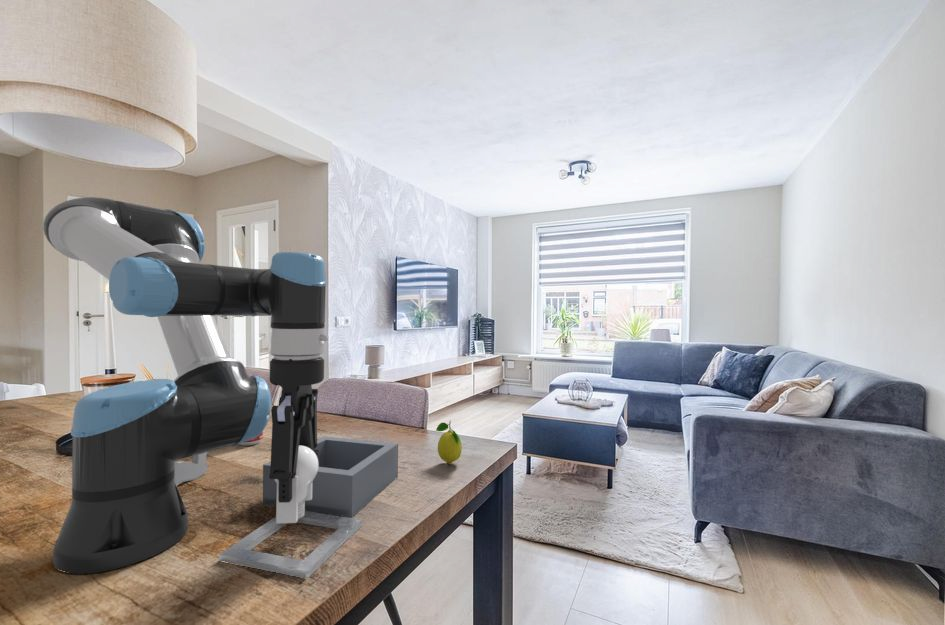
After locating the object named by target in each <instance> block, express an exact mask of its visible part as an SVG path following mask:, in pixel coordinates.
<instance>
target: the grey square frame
mask: <svg viewBox="0 0 945 625" xmlns="http://www.w3.org/2000/svg"><path fill="white" fill-rule="evenodd" d="M297 523H298V524H304V525H309V526H317V527H323V528H329V529H333V530H334V529H335V531H334V532H333V533H332V534H331V535H329V537H327V539H326V540H324V541H323V542H322V543H321V544H320V545H318V546H317V547H316V548H315V549H314V550H313V551H312V552H310V554H308V555H307V556H306V557H305V558H303V559H298V558H293V557H290V556H282V555H278V554H277V555H276V554H271V553H267V552H263V551H256V550H252V549H254V548H255V547H256V546H258V545H259V544H261V543H262V542H264V541H265V540H266V539H268V538H269V537H270V536H272V535H274V534H275V533H277V531H280V530H281V529H282V528H283V527H285V526H286V525H287V524H288V523H277V524H276V516H274V517H273V518H272V519H270V520H269V521H267V522H266V523H264V524H263V525H261V526H260V527H258V528H257V529H255V530H253V531H252V532H250V533H249V534H247V535H246V536H245V537H243V538H241V539H240V540H237V542H235V543H234V544H232V545H231V546H229V547H228V548H226V549H225V550H223V551H222V552H220V553H219V554H218V562H219V561H225V562H228V563H233V564H238V565H242V566H247V567H253V568H257V569H262V570H267V571H271V572H270V573H272V572H276V573H275V574H277V573H282V574H287V575H290V576H289V577H292V576H291V575H293V576H296V577H295V578H297V576H298V577H300V578H299V579H302V578H307V577H308V578H309V577H311V575H313V573H315V571H317V569H319V568H320V567H321V566H322V565H323V564H324V563H325V562H326V561H327V560H328V559H329V558H330V557H331V556H333V554H334V553H336V551H337V550H338V549H339V548H340V547H342V546H343V544H345V543H346V542H347V541H348V540H349V539H350V538H351V537H352V536H353V535H354V534H355V533H356V532H357V531H358V530H359V529H360V528H361V527H362V526H363V519H362V518H354V517H346V516H340V515H333V514H327V513H320V512H313V511H307V510H305V515H304V516H303V517H301V518H300V519H298V521H297V522H296V523H295V524H297ZM242 566H241V567H242ZM247 567H246V568H247ZM257 569H256V570H257ZM262 570H261V571H262ZM267 571H266V572H267ZM282 574H281V575H282ZM287 575H286V576H287ZM301 577H302V578H301ZM308 578H307V579H308Z"/></svg>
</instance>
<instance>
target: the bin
mask: <svg viewBox="0 0 945 625" xmlns="http://www.w3.org/2000/svg"><path fill="white" fill-rule="evenodd" d="M314 450H319V453H318V456H317V458H318V462H319V467H318V472H317V474H316V477H315V478H314V480H313V481H312V499H311V500H305V511H309V512H316V513H322V514H329V515H335V516H342V517H349V518H354V516H355V515H357V514H358V513H359V512H360V511H362V509H363V508H364V507H366V506H367V505H368V504H369V503H370V502H371V501H372V500H373V499H374V498H376V497H377V496H378V495H379V494H380V493H381V492H383V491H384V490H385V489H386V488H387V487H388V486H389V485H390V484H391V483H393V482H394V481H395V480H397V478H398V477H399V443H397V442H386V441H375V440H365V439H356V438H355V439H354V438H345V437H335V436H325V435H323V436H321V437H318V438H317V447H316V448H314ZM270 465H271V460H270V461H268V462H266V463H264V464H262V504H263V505H268V506H269V505H270V506H276V503H277V483H276V481H275V480H274V479H270V478H269V474H270Z"/></svg>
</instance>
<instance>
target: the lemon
mask: <svg viewBox="0 0 945 625" xmlns="http://www.w3.org/2000/svg"><path fill="white" fill-rule="evenodd" d="M448 429H449V430H448ZM447 430H448V431H447ZM435 431H437V432H443V434H442V435H441V436H440V437H439V439H438V444H437V453H438V456H439V457H440V459H441V460H442V461H443V462H446V464H448V465H452V463H454V462H456V461H458V460H459V458H461V455H462V450H463V449H462V447H463V446H462V441H461V439H460V436H459V434H458V433H457V432H456V431H454V430H453V429H452V428H451V420H449V422H448V423H446V422H440V423H439V424H438V425H437V427H436V429H435ZM444 431H446V432H444Z"/></svg>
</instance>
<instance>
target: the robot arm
mask: <svg viewBox="0 0 945 625" xmlns="http://www.w3.org/2000/svg"><path fill="white" fill-rule="evenodd" d="M42 227H43V228H42V230H43V232H44V233H43V234H44V235H45V238H46V240H47V242H49V244H50V245H51V246H52V247H53V248H54V250H56V251H57V252H59V253H60V254H62V256H65V257H66V258H69V259H72V260H75V261H80V262H84V263H85V264H86V265H88V266H90V268H92V269H94V271H96V272H97V273H99V274H100V275H101V276H103V277H104V278H105V279H107V280H108V290H109V297H110V299H111V301H112V306H113V307H114V308H115V310H116V311H118V312H119V313H121V314H123V315H129V316H145V317H148V318H157V319H158V322H159V325H160V327H161V328H160V329H161V330H162V334H163V336H164V339H165V343H166V345H167V348H168V350H169V354H170V357H171V359H172V362H173V365H174V368H175V371H176V374H177V377H176V378H175V379H174V380H173V379H168V378H153V379H146V380H137V381H131V382H126V383H121V384H115V385H113V386H112V385H111V386H108V387H103V388H101V389H98V390H95V391H92V392H91V393H88V394H86V395H85V396H83V397H81V398H80V399H79V400H78V401H77V403H76V404H75V406H74V408H73V409H74V411H73V418H72V426H71V430H70V435H71V437H72V449H71V450H72V452H71V453H72V456H71V457H72V458H71V460H72V462H71V464H72V467H71V468H72V471H71V472H72V473H71V479H72V480H71V482H72V483H71V490H72V491H71V504H70V507H69V509H68V511H67V514H66V516H65V518H64V521H63V524H62V527H61V529H60V531H59V533H58V537H57V539H56V541H55V543H54V545H53V554H52V555H53V558H52V559H53V560H52V561H53V562H52V563H53V564H54V565H53V567H54V566H55V567H56V568H57V569H59V570H62V571H65V572H69V573H68V574H70V573H77V574H76V575H83V574H84V575H85V573H87V574H96V573H101V572H107V571H111V570H116V569H120V568H122V567H124V568H125V567H126V566H129V565H133V564H137V563H139V562H142V561H144V560H147V559H149V558H151V557H153V556H157V554H160V553H162V552H164V551H165V550H167V549H169V548H170V547H172V546H174V545H175V544H177V543H178V542H179V541H180V540H181V539H182V538H183V537H184V536H185V534H186V533H187V532H188V526H189V525H188V524H189V522H188V519H189V518H188V511H187V509H186V506H185V504H184V501H183V499H182V496H181V494H180V491H179V489H178V486H176V484H175V462H177V461H180V460H182V459H186V458H191V457H193V456H195V455H198V454H202V453H206V452H207V453H209V452H214V451H217V450H221V449H224V448H225V449H226V448H228V447H236V446H239V445H240V443H242V442H245V441H249V440H252V439H254V438H256V437H257V436H259V435H260V434H261V433H262V432H263V433H264V430H265V429H266V427H267V425H268V423H269V421H270V415H271V420H272V421H271V423H272V427H271V428H272V429H271V444H270V449H271V450H270V461H271V465H270V474H269V478H270V479H277V503H276V509H275V511H276V513H275V514H276V515H275V517H276V524H277V523H287V524H297V523H296V522H297V521H298V475H296V467H297V458H298V449H299V445H302V446H306V447H308V448H310V449H312V450H313V451H314V452H315V454H316V456H318V453H319V450H314V448H316V447H317V439H318V394H319V390H318V388H313V387H312V386H313V385H317V384H320V383H322V382H323V381H324V380H325V359H324V358H323V357H322V356H320V355H323V353H325V342H326V341H328V339H329V336H328V334H325V327H326V326H325V321H326V320H325V319H326V314H325V313H326V290H327V289H326V288H327V284H328V283H327V278H326V265H325V264H326V263H325V259H324V258H322V256H320V255H318V254H314V253H307V252H299V251H298V252H297V251H296V252H295V251H280V252H276V253H274V255H273V256H272V258H271V264H270V266H269V268H262V269H261V268H250V267H249V268H246V267H237V266H228V265H218V264H217V265H216V264H208V263H207V264H206V263H201V261H202V259H203V258H204V254H205V250H206V245H205V244H204V241H205V234H204V233H203V230H202V228H201V226H200V224H199V223H198V222H197V221H196V220H195V218H193V217H192V216H190V215H188V214H185V213H181V212H177V211H175V210H172V209H166V208H165V209H160V208H156V207H151V206H147V205H141V204H135V203H131V202H126V201H121V200H114V199H111V198H106V197H105V198H104V197H93V196H91V197H89V196H87V197H86V196H85V197H79V198H77V197H76V198H73V199H69V200H65V201H63V202H59V203H58V204H57V205H55V206H54V207H53V208H51V209H50V210H49V211H48V213H46V215H45V217H44V220H43V226H42ZM216 316H219V317H221V316H223V317H224V316H225V317H228V316H229V317H230V316H231V317H242V316H243V317H266V316H267V317H270V332H269V354H270V356H273V358H271V360H270V361H269V382H270V384H271V385H274V386H279V387H281V394H280V397H279V398H278V399H279V400H278V405H272V395H271V390H270V388H269V387H270V386H268V383H267V382H266V380H265V379H264V378H262V377H261V376H257V375H250V376H248V373H247V370H246V368H245V366H244V363H243V362H242V361H239V360H238V359H233V358H231V356H230V353H229V351H228V349H227V346H226V343H225V341H224V338H223V335H222V333H221V331H220V327H219V326H218V323H217V321H216V318H215V317H216ZM311 499H312V483H311V484H310V486H309V488H308V493H307V496H306V498H305V500H311ZM55 567H54V568H55ZM56 568H55V569H56ZM57 569H56V570H57ZM59 570H58V571H59Z"/></svg>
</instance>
